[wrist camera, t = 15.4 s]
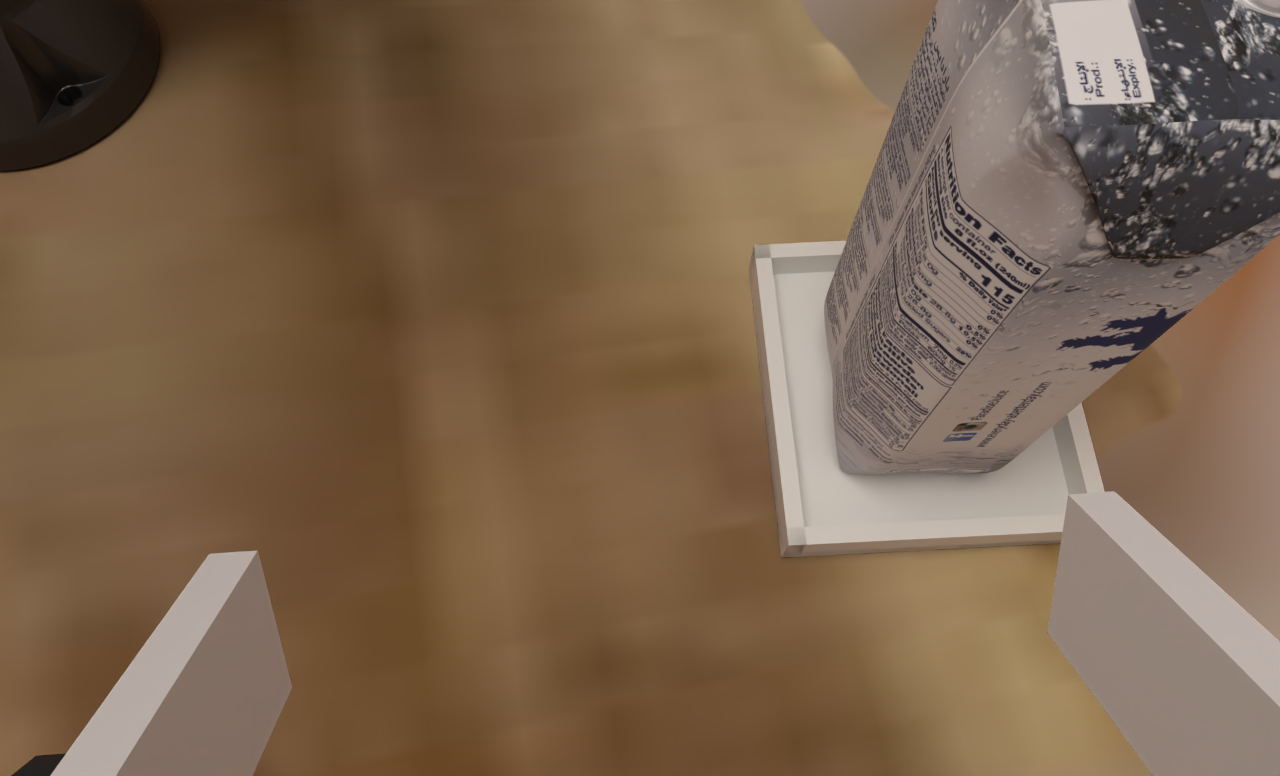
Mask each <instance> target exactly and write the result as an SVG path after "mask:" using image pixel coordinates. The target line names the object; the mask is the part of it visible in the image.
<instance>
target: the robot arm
mask: <svg viewBox="0 0 1280 776" xmlns="http://www.w3.org/2000/svg"><path fill="white" fill-rule="evenodd" d="M159 56H160V38H159V32H158V28H157V25H156V22H155V20H154V18H153V16H152V14H151V13H150V11H149V10H148V8H147V7H146V5H145V4H144V2H143V1H142V0H0V171H8V170H18V169H25V168H30V167H35V166H39V165H43V164H47V163H50V162H53V161H56V160H59V159H62V158H64V157H67V156H69V155H71V154H74V153H76V152H78V151H80V150H82V149H84V148H86V147H87V146H89V145H91V144H93V143H94V142H96V141H97V140H99V139H101V138H102V137H103V136H105V135H106V134H108V133H109V132H110V131H111V130H113V129H114V128H115V127H116V126H118V125H119V124H120V123H121V122H122V121H123V120H124V119H125V118H126V117H127V116H128V115H129V114H130V113H131V112H132V111H133V110H134V108H135V107H136V106H137V105H138V103H139V102H140V101H141V99H142V98H143V96H144V95H145V93H146V92H147V90H148V88H149V86H150V84H151V82H152V80H153V78H154V75H155V73H156V70H157V66H158V62H159ZM1047 633H1048V634H1049V636H1050V637H1051V638H1052V640H1053V641H1054V642H1055V644H1056V645H1057V646H1058V648H1059V649H1060V650H1061V652H1062V653H1063V655H1064V656H1065V657H1066V659H1067V660H1068V661H1069V663H1070V664H1071V665H1072V667H1073V668H1074V669H1075V671H1076V672H1077V673H1078V675H1079V676H1080V678H1081V679H1082V680H1083V682H1084V683H1085V684H1086V686H1087V687H1088V688H1089V690H1090V691H1091V692H1092V694H1093V695H1094V697H1095V698H1096V699H1097V701H1098V702H1099V703H1100V705H1101V706H1102V707H1103V709H1104V710H1105V711H1106V713H1107V714H1108V715H1109V717H1110V718H1111V720H1112V721H1113V722H1114V724H1115V725H1116V726H1117V728H1118V729H1119V730H1120V732H1121V733H1122V734H1123V736H1124V737H1125V738H1126V740H1127V741H1128V743H1129V744H1130V745H1131V747H1132V748H1133V749H1134V751H1135V752H1136V753H1137V755H1138V756H1139V757H1140V759H1141V760H1142V762H1143V763H1144V764H1145V766H1146V767H1147V768H1148V770H1149V771H1150V772H1151V774H1152V775H1153V776H1280V641H1278V640H1277V639H1276V638H1275V637H1274V636H1273V635H1272V634H1271V633H1269V631H1267V630H1266V629H1265V628H1264V627H1263V626H1262V625H1261V624H1260V623H1258V621H1256V620H1255V619H1254V618H1253V617H1252V616H1251V615H1250V614H1249V613H1248V612H1246V611H1245V610H1244V609H1243V608H1242V607H1241V606H1240V605H1239V604H1238V603H1237V602H1236V601H1234V600H1233V599H1232V598H1231V597H1230V596H1229V595H1228V594H1227V593H1226V592H1224V591H1223V590H1222V589H1221V588H1220V587H1219V586H1218V585H1217V584H1216V583H1215V582H1214V581H1212V580H1211V579H1210V578H1209V577H1208V576H1207V575H1206V574H1205V573H1204V572H1203V571H1201V570H1200V569H1199V568H1198V567H1197V566H1196V565H1195V564H1194V563H1193V562H1192V561H1190V560H1189V559H1188V558H1187V557H1186V556H1185V555H1184V554H1183V553H1182V552H1180V551H1179V550H1178V549H1177V548H1176V547H1175V546H1174V545H1173V544H1172V543H1171V542H1170V541H1168V540H1167V539H1166V538H1165V537H1164V536H1163V535H1162V534H1161V533H1160V532H1158V531H1157V530H1156V529H1155V528H1154V527H1153V526H1152V525H1151V524H1150V523H1149V522H1148V521H1146V520H1145V519H1144V518H1143V517H1142V516H1141V515H1140V514H1139V513H1138V512H1137V511H1135V510H1134V509H1133V508H1132V507H1131V506H1130V505H1129V504H1128V503H1127V502H1126V501H1124V500H1123V499H1122V498H1121V497H1120V496H1119V495H1118V494H1117V493H1116V492H1114V491H1112V492H1098V493H1083V494H1069V495H1068V499H1067V506H1066V512H1065V519H1064V526H1063V532H1062V539H1061V545H1060V552H1059V558H1058V565H1057V572H1056V578H1055V585H1054V591H1053V598H1052V605H1051V611H1050V618H1049V624H1048V631H1047ZM291 689H292V685H291V681H290V677H289V673H288V669H287V665H286V661H285V657H284V653H283V649H282V645H281V641H280V637H279V633H278V629H277V625H276V621H275V617H274V613H273V609H272V605H271V601H270V597H269V593H268V589H267V585H266V581H265V577H264V573H263V570H262V566H261V562H260V558H259V554H258V551H244V552H230V553H215V554H209V555H208V556H207V558H206V559H205V561H204V562H203V563H202V565H201V566H200V568H199V569H198V570H197V572H196V573H195V575H194V576H193V577H192V579H191V580H190V581H189V583H188V584H187V586H186V587H185V588H184V590H183V591H182V593H181V594H180V595H179V597H178V598H177V600H176V601H175V602H174V604H173V605H172V607H171V608H170V609H169V611H168V612H167V614H166V615H165V616H164V618H163V619H162V621H161V622H160V623H159V625H158V626H157V628H156V629H155V630H154V632H153V633H152V635H151V636H150V637H149V639H148V640H147V641H146V643H145V644H144V646H143V647H142V648H141V650H140V651H139V653H138V654H137V655H136V657H135V658H134V660H133V661H132V662H131V664H130V665H129V667H128V668H127V669H126V671H125V672H124V674H123V675H122V676H121V678H120V679H119V681H118V682H117V683H116V685H115V686H114V688H113V689H112V690H111V692H110V693H109V695H108V696H107V697H106V699H105V700H104V701H103V703H102V704H101V706H100V707H99V708H98V710H97V711H96V713H95V714H94V715H93V717H92V718H91V720H90V721H89V722H88V724H87V725H86V727H85V728H84V729H83V731H82V732H81V734H80V735H79V736H78V738H77V739H76V741H75V742H74V743H73V745H72V746H71V748H70V749H69V750H68V752H67V753H66V754H54V755H41V756H35V757H34V758H33V759H32V760H30V761H29V762H28V763H27V764H25V765H24V766H23V767H22V768H20V769H19V770H18V771H17V772H15V773H14V774H13V775H12V776H253V774H254V772H255V769H256V767H257V765H258V763H259V760H260V758H261V756H262V754H263V751H264V749H265V747H266V745H267V743H268V740H269V738H270V736H271V734H272V731H273V729H274V727H275V725H276V723H277V720H278V718H279V716H280V714H281V711H282V709H283V707H284V705H285V703H286V700H287V698H288V696H289V694H290V691H291Z"/></svg>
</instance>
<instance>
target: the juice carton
mask: <svg viewBox="0 0 1280 776" xmlns="http://www.w3.org/2000/svg"><path fill="white" fill-rule="evenodd" d="M1279 235H1280V0H938V2H937V5H936V7H935V10H934V12H933V15H932V17H931V20H930V22H929V25H928V27H927V30H926V32H925V35H924V38H923V40H922V43H921V46H920V48H919V50H918V53H917V56H916V58H915V61H914V64H913V66H912V69H911V72H910V74H909V77H908V79H907V82H906V85H905V87H904V90H903V93H902V95H901V98H900V101H899V103H898V106H897V108H896V111H895V114H894V116H893V119H892V122H891V124H890V127H889V130H888V132H887V135H886V138H885V140H884V143H883V146H882V148H881V151H880V153H879V156H878V159H877V161H876V164H875V167H874V169H873V172H872V175H871V177H870V180H869V183H868V185H867V188H866V191H865V193H864V196H863V199H862V201H861V204H860V207H859V209H858V212H857V214H856V217H855V220H854V222H853V225H852V228H851V230H850V233H849V236H848V238H847V241H846V244H845V246H844V249H843V252H842V254H841V257H840V260H839V262H838V265H837V268H836V270H835V273H834V276H833V278H832V281H831V284H830V287H829V289H828V292H827V295H826V299H825V303H824V320H825V331H826V339H827V346H828V353H829V359H830V365H831V372H832V379H833V418H834V429H835V439H836V447H837V455H838V461H839V465H840V469H841V470H842V471H843V472H846V473H851V474H889V473H911V472H929V473H957V474H978V473H989V472H993V471H997V470H999V469H1001V468H1002V467H1004V466H1005V465H1007V464H1008V463H1009V462H1011V461H1012V460H1013V459H1014V458H1015V457H1017V456H1018V455H1019V454H1020V453H1022V452H1023V451H1024V450H1025V449H1026V448H1028V447H1029V446H1030V445H1031V444H1032V443H1034V442H1035V441H1036V440H1037V439H1038V438H1040V437H1041V436H1042V435H1043V434H1044V433H1045V432H1047V431H1048V430H1049V429H1050V428H1051V427H1053V426H1054V425H1055V424H1056V423H1057V422H1059V421H1060V420H1061V419H1062V418H1063V417H1065V416H1066V415H1067V414H1068V413H1069V412H1071V411H1072V410H1073V409H1074V408H1075V407H1076V406H1078V405H1079V404H1080V403H1081V402H1082V401H1084V400H1085V399H1086V398H1087V397H1088V396H1090V395H1091V394H1092V393H1093V392H1094V391H1096V390H1097V389H1098V388H1099V387H1100V386H1101V385H1103V384H1104V383H1105V382H1106V381H1107V380H1109V379H1110V378H1111V377H1112V376H1113V375H1115V374H1116V373H1117V372H1118V371H1119V370H1121V369H1122V368H1123V367H1124V366H1125V365H1126V364H1128V363H1129V362H1130V361H1131V360H1132V359H1134V358H1135V357H1136V356H1137V355H1138V354H1140V353H1141V352H1142V351H1143V350H1144V349H1145V348H1147V347H1148V346H1149V345H1150V344H1151V343H1153V342H1154V341H1155V340H1156V339H1157V338H1159V337H1160V336H1161V335H1162V334H1163V333H1165V332H1166V331H1167V330H1168V329H1169V328H1170V327H1172V326H1173V325H1174V324H1175V323H1176V322H1178V321H1179V320H1180V319H1181V318H1182V317H1184V316H1185V315H1186V314H1187V313H1188V312H1189V311H1191V310H1192V309H1193V308H1194V307H1195V306H1197V305H1198V304H1199V303H1200V302H1201V301H1203V300H1204V299H1205V298H1206V297H1207V296H1208V295H1210V294H1211V293H1212V292H1213V291H1214V290H1216V289H1217V288H1218V287H1219V286H1220V285H1221V284H1223V283H1224V282H1225V281H1226V280H1227V279H1228V278H1230V277H1231V276H1232V275H1233V274H1234V273H1236V272H1237V271H1238V270H1239V269H1240V268H1241V267H1243V266H1244V265H1245V264H1246V263H1247V262H1249V261H1250V260H1251V259H1252V258H1253V257H1254V256H1255V255H1257V254H1258V253H1259V252H1260V251H1261V250H1262V249H1264V248H1265V247H1266V246H1267V245H1268V244H1269V243H1271V242H1272V241H1273V240H1274V239H1275V238H1276V237H1277V236H1279Z"/></svg>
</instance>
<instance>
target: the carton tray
mask: <svg viewBox="0 0 1280 776" xmlns="http://www.w3.org/2000/svg"><path fill="white" fill-rule="evenodd" d="M845 244H846V241H829V242H808V243H787V244H766V245H754V248H753V253H752V258H751V263H750V268H749V274H750V283H751V292H752V301H753V310H754V319H755V328H756V337H757V346H758V355H759V364H760V373H761V382H762V391H763V400H764V409H765V418H766V427H767V436H768V445H769V454H770V463H771V472H772V481H773V490H774V499H775V508H776V517H777V526H778V535H779V544H780V553H781V558H784V557H804V556H824V555H843V554H863V553H883V552H902V551H922V550H942V549H961V548H981V547H1001V546H1020V545H1040V544H1060V543H1061V539H1062V532H1063V526H1064V519H1065V512H1066V506H1067V499H1068V495H1069V494H1083V493H1098V492H1105V491H1104V487H1103V484H1102V480H1101V476H1100V472H1099V468H1098V464H1097V461H1096V457H1095V453H1094V449H1093V445H1092V441H1091V437H1090V434H1089V430H1088V426H1087V422H1086V418H1085V414H1084V411H1083V407H1082V403H1080V404H1079V405H1078V406H1076V407H1075V408H1074V409H1073V410H1072V411H1071V412H1069V413H1068V414H1067V415H1066V416H1065V417H1063V418H1062V419H1061V420H1060V421H1059V422H1057V423H1056V424H1055V425H1054V426H1053V427H1051V428H1050V429H1049V430H1048V431H1047V432H1045V433H1044V434H1043V435H1042V436H1041V437H1040V438H1038V439H1037V440H1036V441H1035V442H1034V443H1032V444H1031V445H1030V446H1029V447H1028V448H1026V449H1025V450H1024V451H1023V452H1022V453H1020V454H1019V455H1018V456H1017V457H1015V458H1014V459H1013V460H1012V461H1011V462H1009V463H1008V464H1007V465H1005V466H1004V467H1002V468H1001V469H999V470H997V471H993V472H989V473H978V474H957V473H929V472H911V473H889V474H851V473H846V472H843V471H842V470H841V469H840V465H839V461H838V455H837V447H836V439H835V429H834V418H833V379H832V372H831V365H830V359H829V353H828V346H827V339H826V331H825V320H824V303H825V299H826V295H827V292H828V289H829V287H830V284H831V281H832V278H833V276H834V273H835V270H836V268H837V265H838V262H839V260H840V257H841V254H842V252H843V249H844V246H845Z"/></svg>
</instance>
